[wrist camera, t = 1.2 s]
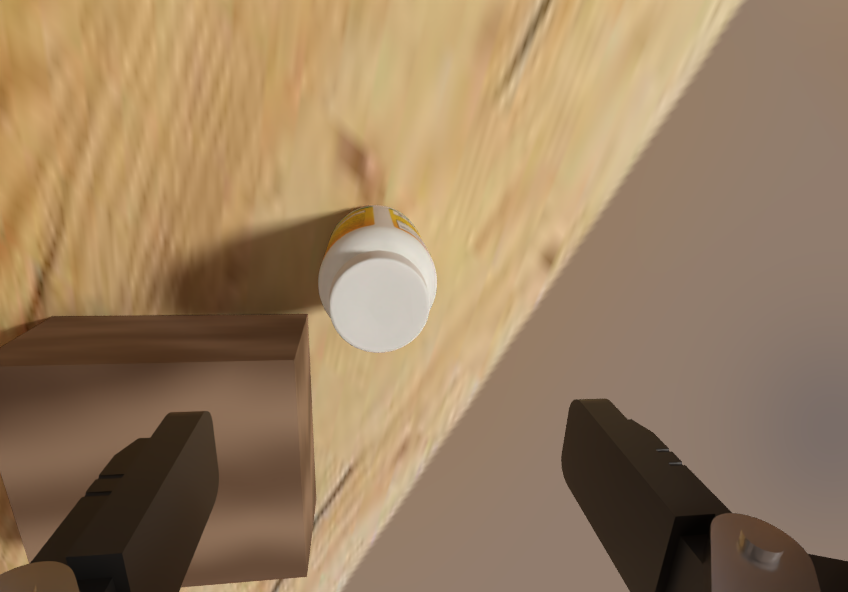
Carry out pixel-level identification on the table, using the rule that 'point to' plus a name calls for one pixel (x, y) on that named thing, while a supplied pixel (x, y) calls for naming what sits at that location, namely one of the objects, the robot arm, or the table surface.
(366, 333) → the supplement bottle
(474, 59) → the table surface
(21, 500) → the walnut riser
